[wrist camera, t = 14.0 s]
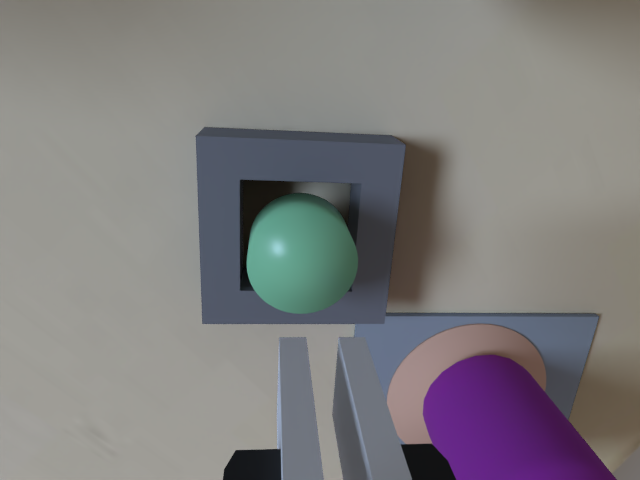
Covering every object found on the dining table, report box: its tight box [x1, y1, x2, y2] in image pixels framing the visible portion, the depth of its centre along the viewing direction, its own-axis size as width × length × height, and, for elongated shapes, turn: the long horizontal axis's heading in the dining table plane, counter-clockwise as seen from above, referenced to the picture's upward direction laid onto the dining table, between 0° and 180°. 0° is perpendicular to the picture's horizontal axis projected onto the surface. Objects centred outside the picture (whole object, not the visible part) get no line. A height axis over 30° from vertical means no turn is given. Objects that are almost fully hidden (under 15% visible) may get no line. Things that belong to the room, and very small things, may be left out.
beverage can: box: [423, 355, 616, 480], centre depth 27 cm, size 8×8×12 cm
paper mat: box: [354, 313, 599, 444], centre depth 32 cm, size 16×12×1 cm
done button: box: [247, 193, 358, 314], centre depth 23 cm, size 5×5×3 cm
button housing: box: [196, 127, 406, 324], centre depth 26 cm, size 10×10×3 cm
